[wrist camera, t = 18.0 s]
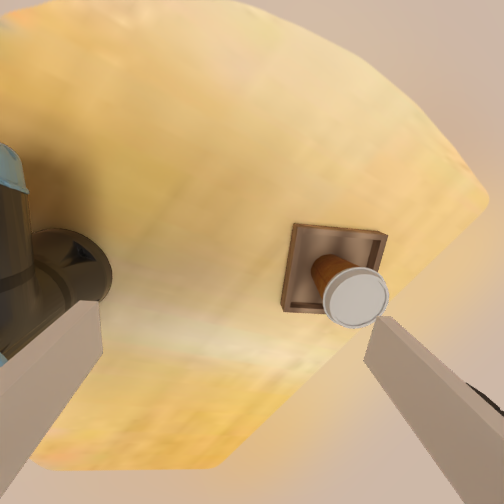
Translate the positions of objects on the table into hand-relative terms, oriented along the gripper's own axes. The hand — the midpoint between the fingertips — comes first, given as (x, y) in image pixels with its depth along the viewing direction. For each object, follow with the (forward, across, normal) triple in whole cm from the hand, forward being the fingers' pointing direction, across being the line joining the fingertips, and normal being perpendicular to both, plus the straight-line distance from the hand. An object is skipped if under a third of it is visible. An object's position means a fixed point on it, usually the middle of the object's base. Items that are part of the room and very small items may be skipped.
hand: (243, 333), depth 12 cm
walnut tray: (+32, +18, -8) cm, 38 cm away
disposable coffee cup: (+31, +18, -8) cm, 37 cm away
